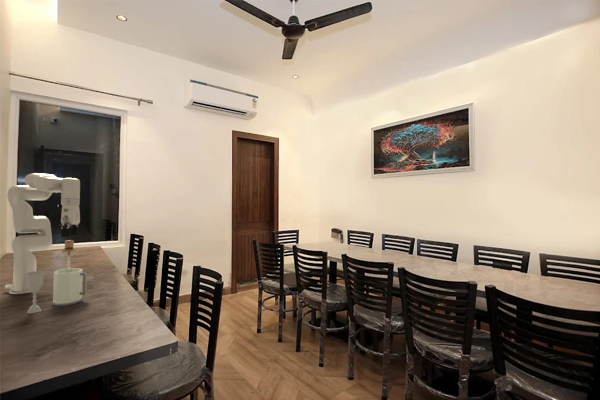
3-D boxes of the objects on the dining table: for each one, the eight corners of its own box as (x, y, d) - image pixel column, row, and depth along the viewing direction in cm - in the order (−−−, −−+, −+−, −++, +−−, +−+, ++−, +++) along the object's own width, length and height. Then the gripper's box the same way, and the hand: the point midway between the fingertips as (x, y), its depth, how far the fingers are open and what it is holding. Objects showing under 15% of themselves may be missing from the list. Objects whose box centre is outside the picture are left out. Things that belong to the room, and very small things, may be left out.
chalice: (47, 309, 141) (48, 271, 141) (30, 314, 134) (31, 275, 134) (37, 307, 143) (38, 270, 143) (20, 312, 137) (21, 273, 137)
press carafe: (48, 306, 145) (49, 273, 145) (59, 299, 156) (60, 268, 156) (80, 304, 149) (81, 272, 149) (89, 297, 160) (90, 267, 160)
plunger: (59, 284, 148) (60, 241, 149) (64, 281, 154) (65, 240, 154) (72, 283, 150) (73, 241, 150) (76, 280, 155) (78, 239, 156)
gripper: (71, 202, 145) (71, 237, 145) (85, 202, 162) (85, 233, 161) (53, 202, 143) (52, 237, 143) (69, 202, 159) (68, 234, 159)
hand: (69, 235), depth 152 cm, fingers open, 9 cm apart
